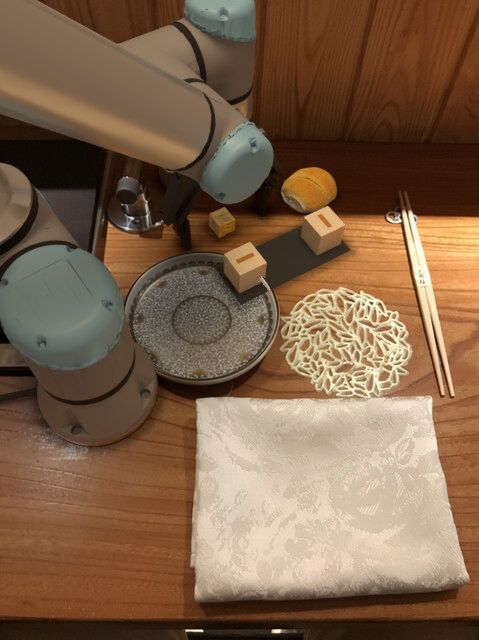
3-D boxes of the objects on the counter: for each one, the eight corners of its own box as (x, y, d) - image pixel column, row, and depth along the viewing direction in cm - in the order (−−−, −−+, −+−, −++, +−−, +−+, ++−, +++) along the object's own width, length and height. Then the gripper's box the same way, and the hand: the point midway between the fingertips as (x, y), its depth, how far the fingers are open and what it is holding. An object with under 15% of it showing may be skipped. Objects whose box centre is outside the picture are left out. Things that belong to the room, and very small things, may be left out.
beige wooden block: (317, 255, 86) (321, 236, 83) (300, 236, 88) (303, 216, 85) (340, 244, 88) (345, 224, 84) (323, 225, 90) (328, 205, 86)
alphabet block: (224, 219, 90) (224, 206, 88) (235, 231, 89) (235, 218, 87) (208, 227, 90) (208, 213, 87) (219, 239, 88) (219, 226, 86)
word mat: (241, 306, 82) (241, 304, 81) (213, 268, 85) (213, 266, 85) (350, 251, 88) (351, 250, 87) (320, 218, 91) (321, 216, 91)
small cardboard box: (239, 293, 82) (240, 275, 78) (223, 272, 84) (223, 253, 80) (265, 281, 84) (267, 262, 80) (249, 260, 86) (250, 241, 82)
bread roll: (344, 193, 94) (348, 175, 91) (310, 222, 91) (313, 205, 87) (306, 169, 97) (309, 150, 94) (271, 196, 93) (273, 178, 90)
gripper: (146, 170, 66) (164, 276, 84) (319, 101, 73) (302, 212, 91) (119, 133, 69) (142, 243, 87) (287, 70, 76) (276, 184, 94)
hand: (223, 228), depth 89 cm, fingers open, 13 cm apart
